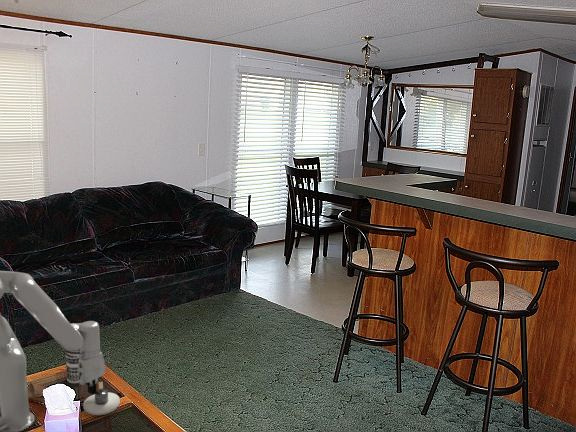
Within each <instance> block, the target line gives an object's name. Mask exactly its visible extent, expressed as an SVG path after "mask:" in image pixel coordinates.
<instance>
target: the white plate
mask: <svg viewBox="0 0 576 432" xmlns="http://www.w3.org/2000/svg"><path fill="white" fill-rule="evenodd" d="M119 404H121V401H120V396H119V395H118V394H116V393H114V392H109V391H108V402H107V403H106V404H103V405H97V404H96V403H95V394H93V395H92V394H91V395H90V396H88V397H87V398H86V399H85V400H84V401H83V411H84V412H85V413H86V414H88V415H91V416H103V415H108V414H110V413H112V412H115V411H116V410H117V409H118V408H119V407H120V405H119ZM118 406H119V407H118ZM117 407H118V408H117Z"/></svg>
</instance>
